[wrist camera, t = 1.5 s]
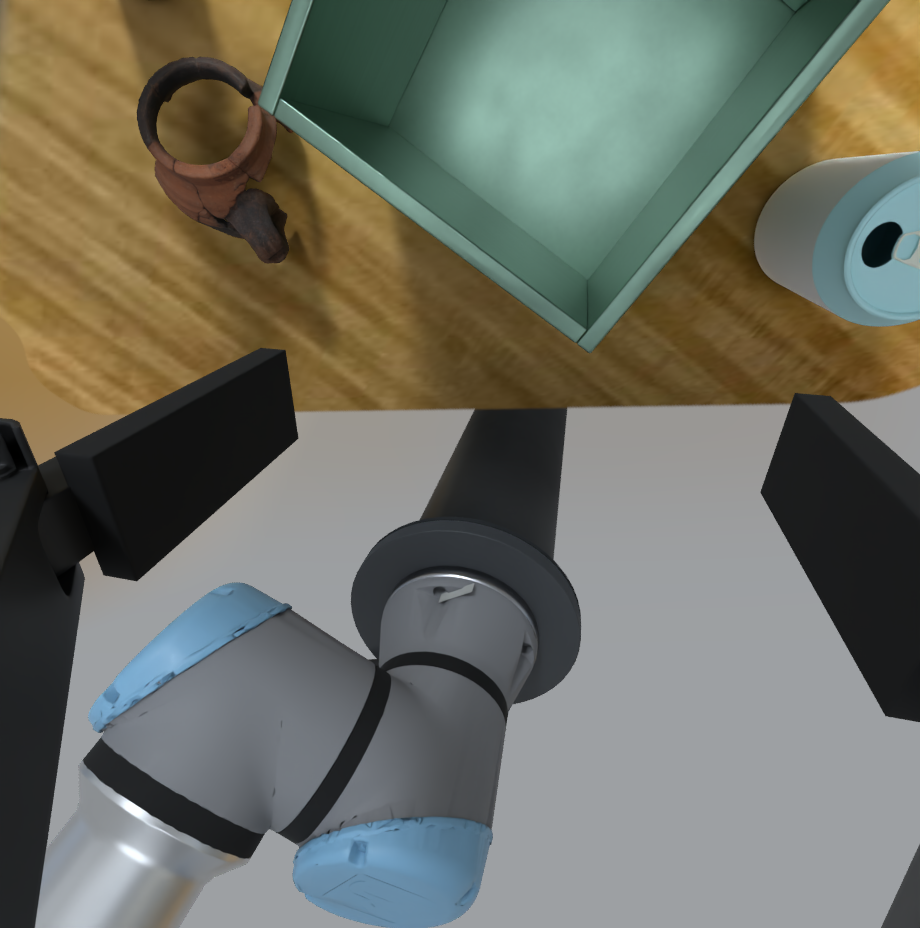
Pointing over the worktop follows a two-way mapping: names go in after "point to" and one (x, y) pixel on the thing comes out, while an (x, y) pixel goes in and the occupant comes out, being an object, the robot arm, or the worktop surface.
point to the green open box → (555, 123)
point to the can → (848, 237)
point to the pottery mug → (223, 183)
